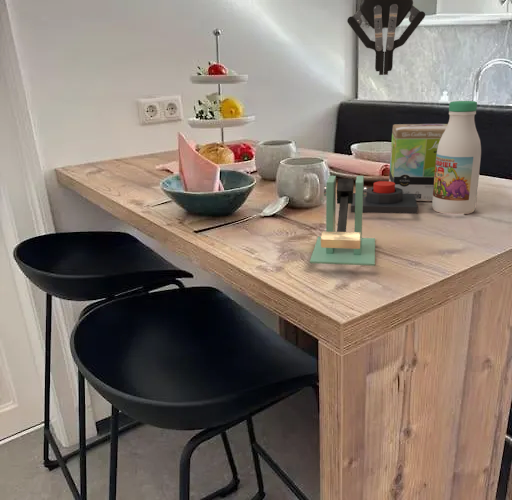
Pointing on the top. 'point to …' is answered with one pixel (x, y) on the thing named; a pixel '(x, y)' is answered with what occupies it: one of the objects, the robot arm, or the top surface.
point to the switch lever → (342, 220)
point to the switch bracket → (366, 244)
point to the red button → (384, 187)
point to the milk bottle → (458, 162)
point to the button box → (388, 202)
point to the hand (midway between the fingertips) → (383, 74)
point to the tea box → (415, 158)
